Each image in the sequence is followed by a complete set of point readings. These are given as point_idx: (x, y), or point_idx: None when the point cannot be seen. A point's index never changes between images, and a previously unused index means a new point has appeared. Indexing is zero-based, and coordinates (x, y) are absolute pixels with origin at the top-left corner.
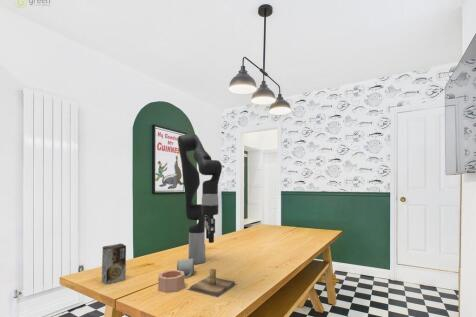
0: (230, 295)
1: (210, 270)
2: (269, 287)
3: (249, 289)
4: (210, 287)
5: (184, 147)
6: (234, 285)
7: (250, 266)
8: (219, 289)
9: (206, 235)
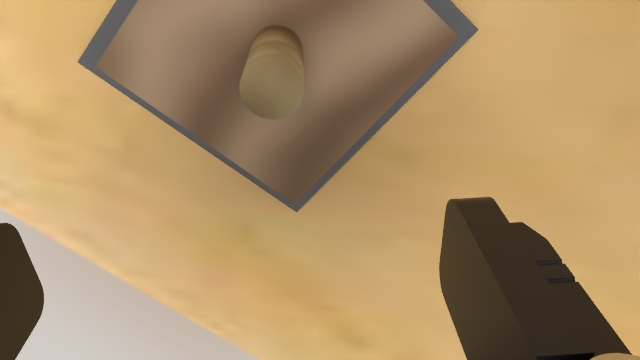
0: (139, 144)
1: (258, 64)
2: (235, 343)
3: (221, 256)
4: (204, 25)
5: None
6: (272, 191)
7: None
8: (157, 89)
9: (474, 245)
